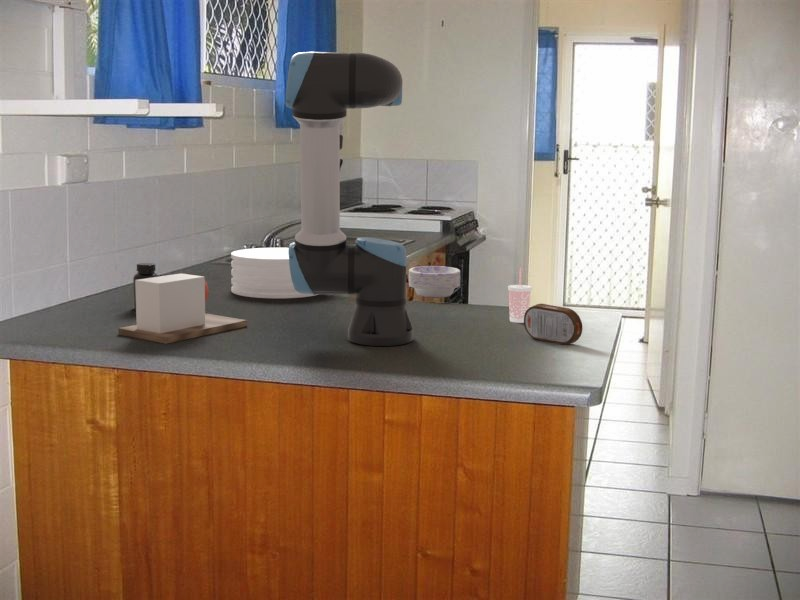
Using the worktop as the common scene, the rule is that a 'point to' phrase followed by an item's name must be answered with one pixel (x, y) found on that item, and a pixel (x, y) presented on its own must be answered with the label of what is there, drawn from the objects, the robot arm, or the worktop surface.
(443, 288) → the paper bowls
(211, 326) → the board
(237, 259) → the plate stack
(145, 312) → the block
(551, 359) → the worktop surface
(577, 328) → the tin
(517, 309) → the beverage cup
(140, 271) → the supplement bottle
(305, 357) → the worktop surface
